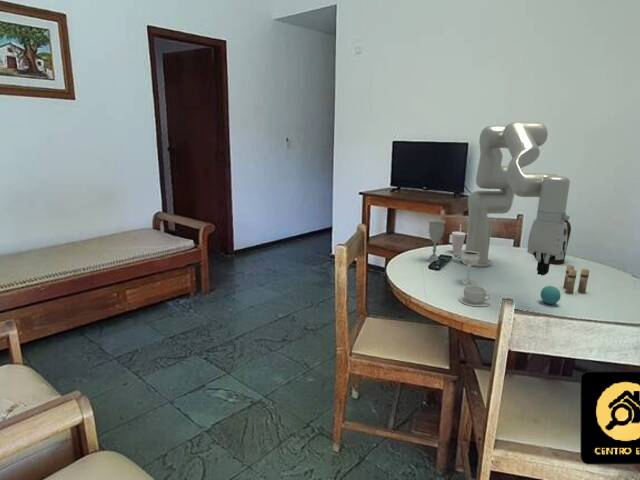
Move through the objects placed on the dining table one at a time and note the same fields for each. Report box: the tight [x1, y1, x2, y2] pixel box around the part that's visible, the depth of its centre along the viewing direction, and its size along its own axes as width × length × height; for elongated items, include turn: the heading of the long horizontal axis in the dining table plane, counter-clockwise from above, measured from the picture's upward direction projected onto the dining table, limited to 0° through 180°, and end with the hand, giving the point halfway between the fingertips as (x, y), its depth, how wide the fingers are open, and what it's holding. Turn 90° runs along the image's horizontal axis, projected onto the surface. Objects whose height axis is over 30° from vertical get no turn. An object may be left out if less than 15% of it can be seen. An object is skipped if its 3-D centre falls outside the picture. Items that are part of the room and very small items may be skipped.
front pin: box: [565, 269, 578, 295], centre depth 152 cm, size 2×2×8 cm
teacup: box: [458, 284, 491, 308], centre depth 144 cm, size 10×10×5 cm
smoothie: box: [451, 223, 467, 254], centre depth 200 cm, size 6×6×14 cm
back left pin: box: [563, 265, 575, 290], centre depth 157 cm, size 2×2×8 cm
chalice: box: [427, 219, 446, 263], centre depth 186 cm, size 7×7×18 cm
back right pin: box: [577, 268, 590, 294], centre depth 153 cm, size 2×2×8 cm
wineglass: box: [460, 249, 480, 286], centre depth 161 cm, size 7×7×12 cm
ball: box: [539, 285, 562, 305], centre depth 143 cm, size 6×6×6 cm
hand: (542, 274), depth 134 cm, fingers closed
